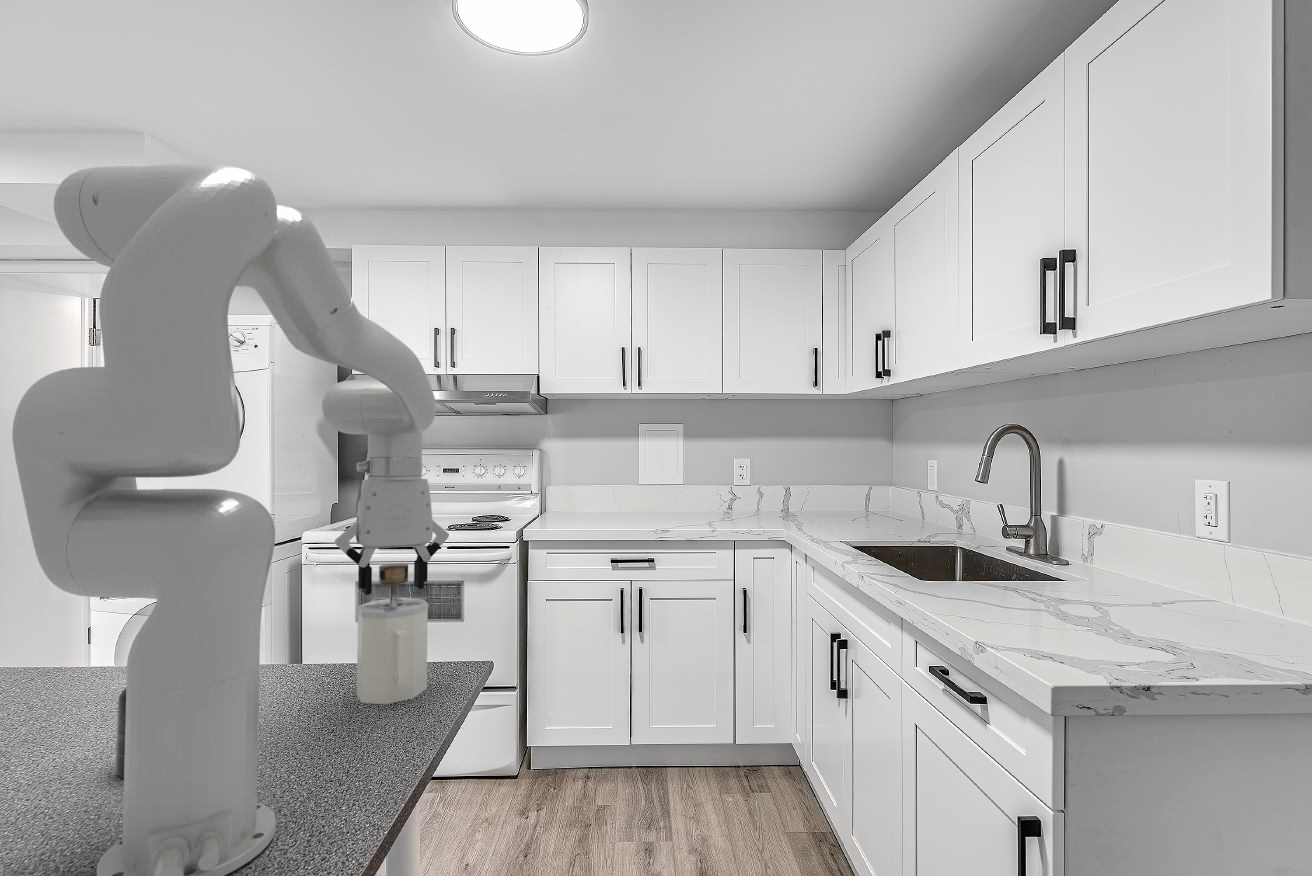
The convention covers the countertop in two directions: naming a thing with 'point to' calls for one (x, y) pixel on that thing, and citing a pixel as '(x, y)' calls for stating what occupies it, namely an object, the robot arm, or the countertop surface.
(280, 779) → the countertop surface
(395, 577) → the plunger
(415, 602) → the press pot
